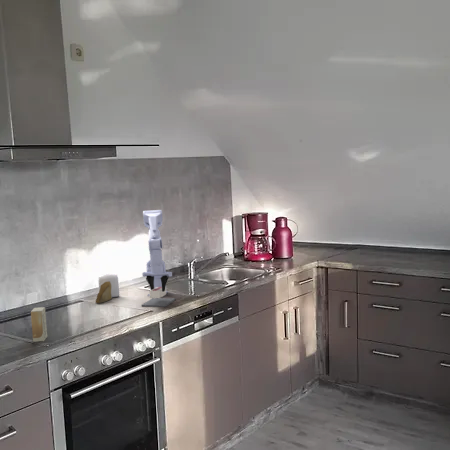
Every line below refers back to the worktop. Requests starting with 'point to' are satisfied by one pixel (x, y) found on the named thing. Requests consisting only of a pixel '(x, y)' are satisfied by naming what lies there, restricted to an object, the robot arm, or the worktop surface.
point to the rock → (104, 293)
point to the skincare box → (39, 324)
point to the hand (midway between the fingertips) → (158, 291)
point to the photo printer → (114, 283)
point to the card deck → (157, 292)
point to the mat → (158, 302)
